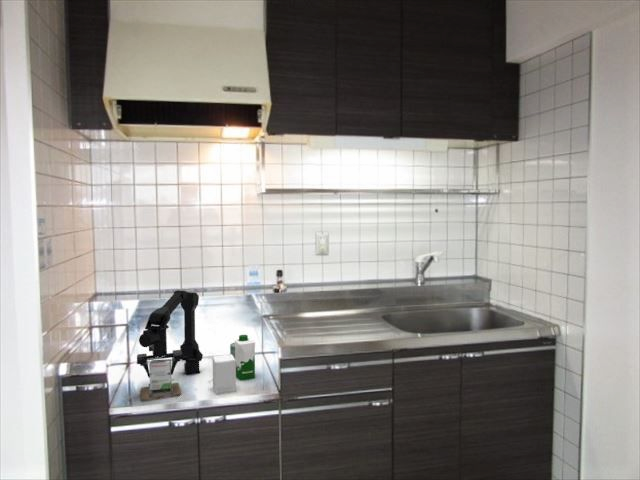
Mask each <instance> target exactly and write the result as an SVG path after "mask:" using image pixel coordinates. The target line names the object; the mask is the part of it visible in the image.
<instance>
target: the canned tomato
mask: <svg viewBox="0 0 640 480" xmlns="http://www.w3.org/2000/svg"><path fill="white" fill-rule="evenodd" d="M229 347H230V348H229V350H230V353H229V355H233V357H234V359H235V342H231V343H230V345H229Z"/></svg>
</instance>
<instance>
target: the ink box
mask: <svg viewBox="0 0 640 480" xmlns="http://www.w3.org/2000/svg"><path fill="white" fill-rule="evenodd" d="M171 366H172V358H168V359H155V360H151V361H150V362H149V363H148V368H149V374H150V378H149V384H150V390H158V389H170V388H171V386H172V383H173V382H172V381H173V380H172V375H171Z"/></svg>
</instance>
